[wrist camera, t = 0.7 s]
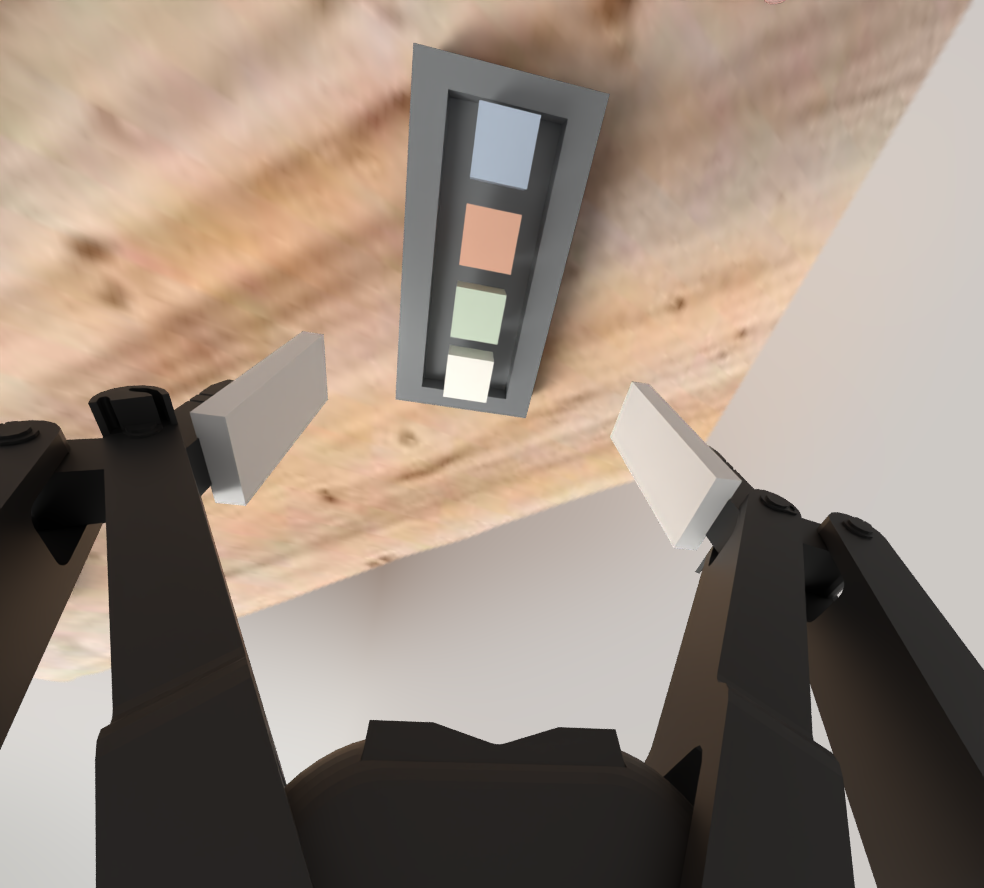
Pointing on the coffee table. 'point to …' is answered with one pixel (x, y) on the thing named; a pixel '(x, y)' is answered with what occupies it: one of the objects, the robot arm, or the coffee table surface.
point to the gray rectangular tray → (448, 188)
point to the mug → (774, 1)
